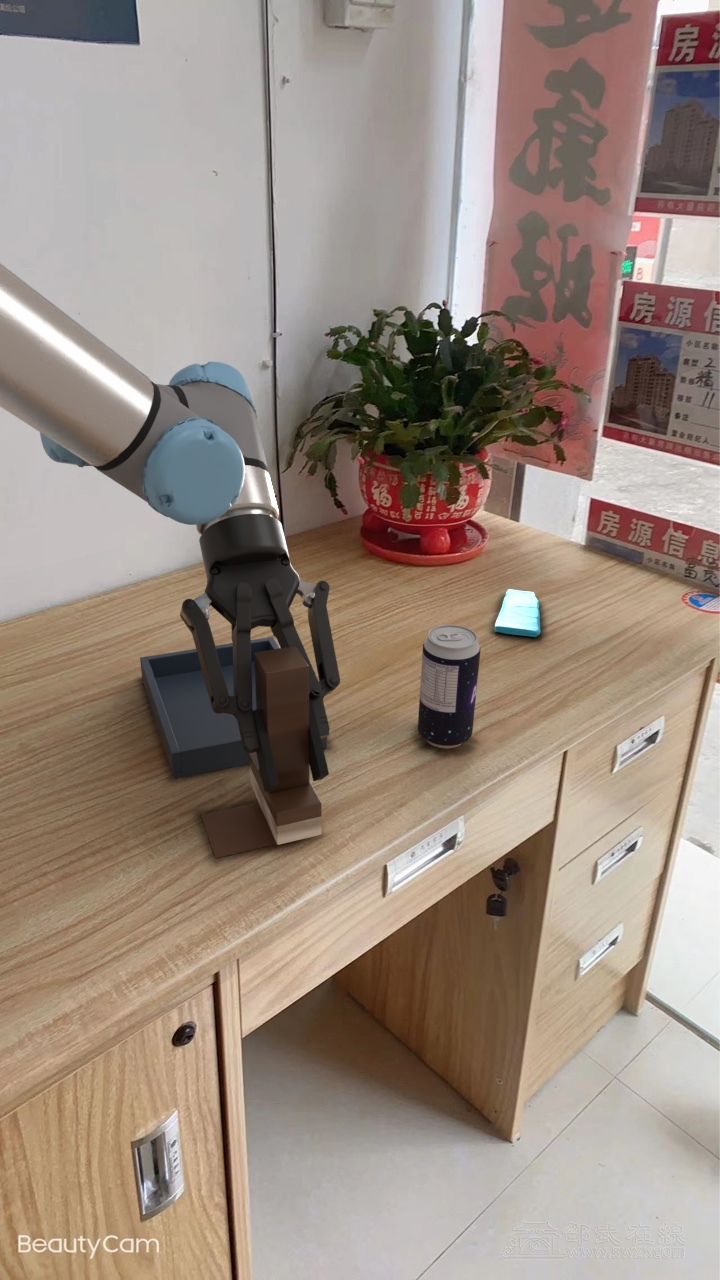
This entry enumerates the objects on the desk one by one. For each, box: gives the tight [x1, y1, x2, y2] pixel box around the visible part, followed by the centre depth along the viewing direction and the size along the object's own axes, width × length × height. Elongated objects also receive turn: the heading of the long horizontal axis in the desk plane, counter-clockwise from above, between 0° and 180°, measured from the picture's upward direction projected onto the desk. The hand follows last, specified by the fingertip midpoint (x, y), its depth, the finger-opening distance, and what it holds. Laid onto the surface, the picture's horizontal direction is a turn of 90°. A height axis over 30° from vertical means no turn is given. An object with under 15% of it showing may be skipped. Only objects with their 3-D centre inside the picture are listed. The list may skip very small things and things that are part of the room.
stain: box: [200, 801, 277, 859], centre depth 79 cm, size 9×6×1 cm, turn 111°
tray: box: [139, 636, 328, 780], centre depth 95 cm, size 16×20×3 cm
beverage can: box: [417, 624, 481, 749], centre depth 89 cm, size 6×6×12 cm
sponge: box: [494, 588, 541, 638], centre depth 117 cm, size 2×12×6 cm
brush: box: [249, 646, 323, 846], centre depth 76 cm, size 9×4×16 cm, turn 21°
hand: (296, 782), depth 74 cm, fingers closed on brush, 4 cm apart
